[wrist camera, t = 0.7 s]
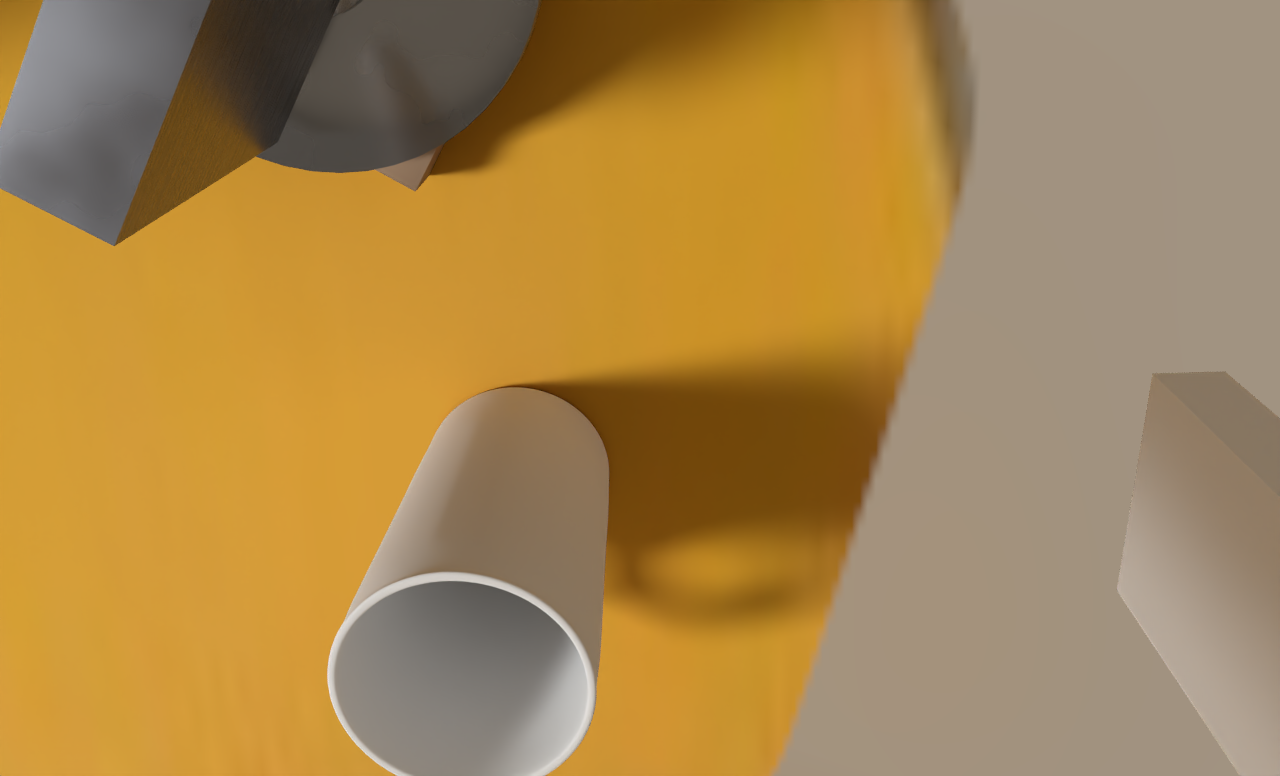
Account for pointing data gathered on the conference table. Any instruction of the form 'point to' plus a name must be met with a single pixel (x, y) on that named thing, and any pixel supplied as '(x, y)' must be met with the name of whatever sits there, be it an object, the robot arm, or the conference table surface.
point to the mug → (483, 598)
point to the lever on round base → (240, 94)
